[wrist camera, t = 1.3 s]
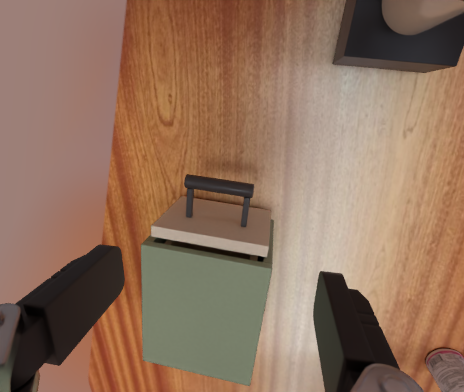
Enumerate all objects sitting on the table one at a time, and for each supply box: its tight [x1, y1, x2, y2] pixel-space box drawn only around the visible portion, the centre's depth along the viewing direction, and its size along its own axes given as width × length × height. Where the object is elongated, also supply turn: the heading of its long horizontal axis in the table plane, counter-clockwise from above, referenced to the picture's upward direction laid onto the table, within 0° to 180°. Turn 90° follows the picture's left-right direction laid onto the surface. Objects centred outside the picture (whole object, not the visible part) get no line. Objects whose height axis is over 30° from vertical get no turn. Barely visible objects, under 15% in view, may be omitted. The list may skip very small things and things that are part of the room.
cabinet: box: [141, 220, 274, 386], centre depth 33 cm, size 16×13×11 cm
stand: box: [333, 0, 464, 73], centre depth 23 cm, size 9×9×5 cm
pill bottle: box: [426, 349, 464, 392], centre depth 33 cm, size 5×5×8 cm
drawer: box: [151, 174, 271, 261], centre depth 31 cm, size 19×12×9 cm, turn 174°
